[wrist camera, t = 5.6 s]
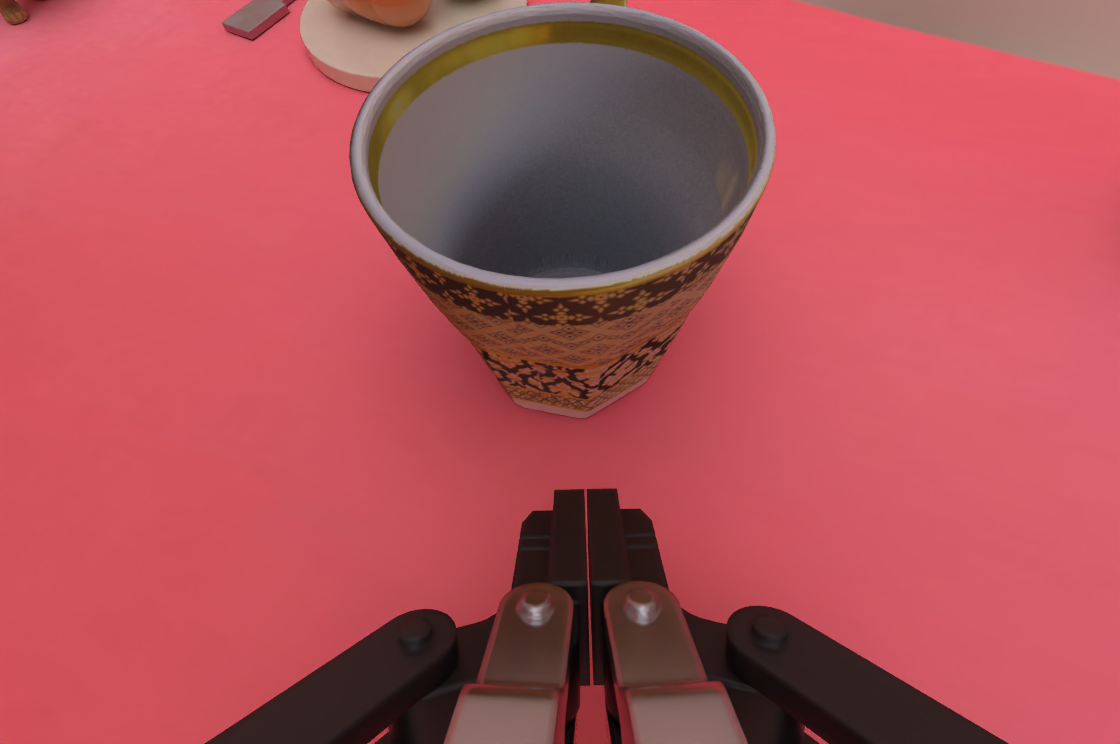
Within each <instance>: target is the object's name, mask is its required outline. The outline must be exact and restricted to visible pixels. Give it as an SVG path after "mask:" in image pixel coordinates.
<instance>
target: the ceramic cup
mask: <svg viewBox="0 0 1120 744" xmlns="http://www.w3.org/2000/svg"><path fill="white" fill-rule="evenodd" d="M775 148H776V132H775V126H774V120H773V115H772V111H771V109H770V106H769V104H768V102H767V99H766V97H765V94H764V93H763V91H762V89H761V87H760V85H759V84H758V82H757V81H756V80H755V78H754V77H753V75H752V74H751V73H750V71H749V70H748V69H747V68H746V67H745V66H744V65H743V64H742V63H741V62H740V61H739V60H738V59H737V58H736V57H735V56H734V55H732V54H731V53H730V52H729V51H728V50H726V49H725V48H724V47H723V46H721V45H720V44H718V43H717V42H715V41H714V40H712V39H711V38H709V37H707V36H706V35H704V34H702V33H701V32H699V31H697V30H695V29H693V28H691V27H688V26H686V25H684V24H682V23H680V22H678V21H675V20H673V19H670V18H667V17H664V16H660V15H657V14H654V13H651V12H648V11H643V10H639V9H635V8H630V7H627V0H591V2H590V3H585V2H561V3H545V4H537V5H528V6H520V7H516V8H511V9H507V10H502V11H498V12H493V13H490V14H487V15H484V16H480V17H477V18H474V19H471V20H468V21H466V22H463V23H461V24H459V25H456V26H454V27H451V28H449V29H447V30H445V31H443V32H441V33H440V34H438V35H436V36H434V37H432V38H430V39H428V40H426V41H425V42H423V43H422V44H420V45H419V46H417V47H416V48H415V49H413V50H412V51H410V52H409V53H407V54H406V55H405V56H403V57H402V58H401V59H400V60H399V61H398V62H397V63H395V64H394V65H393V66H392V67H391V68H390V69H389V70H388V71H387V72H386V73H385V74H384V75H383V76H382V78H381V79H380V80H379V81H378V82H377V83H376V84H375V86H374V87H373V89H372V90H371V92H370V93H369V95H368V96H367V98H366V99H365V101H364V103H363V105H362V107H361V109H360V111H359V113H358V116H357V119H356V121H355V124H354V127H353V130H352V135H351V141H350V156H349V158H350V166H351V174H352V181H353V184H354V187H355V190H356V192H357V195H358V198H359V200H360V202H361V204H362V205H363V207H364V209H365V211H366V212H367V214H368V216H369V218H370V219H371V220H372V222H373V223H374V225H375V226H376V228H377V229H378V230H379V232H380V233H381V235H382V236H383V237H384V239H385V240H386V242H387V243H388V245H389V246H390V247H391V249H392V250H393V252H394V253H395V255H396V256H397V257H398V259H399V260H400V262H401V263H402V264H403V265H404V267H405V268H406V269H407V271H408V272H409V273H410V274H411V276H412V277H413V278H414V279H415V281H416V282H417V283H418V284H419V286H420V287H421V288H422V290H423V291H424V292H425V293H426V295H427V296H428V297H429V298H430V300H431V301H432V302H433V303H434V304H435V306H436V307H437V308H438V309H439V310H440V311H441V312H442V313H443V314H444V315H445V316H446V317H447V318H448V320H449V321H450V322H451V323H452V324H453V325H454V326H455V327H456V328H457V329H458V330H459V331H460V332H461V333H462V334H463V335H464V336H465V337H466V338H467V339H468V340H469V341H470V342H471V343H472V345H473V346H474V347H475V349H476V350H477V351H478V353H479V354H480V355H481V357H482V358H483V359H484V361H485V362H486V364H487V365H488V366H489V368H490V369H491V370H492V372H493V373H494V375H495V376H496V378H497V379H498V381H499V382H500V384H501V385H502V387H503V388H504V390H505V391H506V392H507V394H508V395H509V396H510V397H511V399H512V400H513V401H514V402H515V403H516V404H517V405H520V406H521V407H523V408H528V409H533V410H538V411H544V412H549V413H554V414H559V415H564V416H570V417H575V418H580V419H581V418H586V417H589V416H591V415H593V414H594V413H596V412H598V411H599V410H601V409H603V408H604V407H606V406H608V405H609V404H611V403H613V402H614V401H616V400H618V399H619V398H621V397H623V396H624V395H626V394H628V393H629V392H631V391H633V390H634V389H636V388H638V387H639V386H641V385H643V384H644V383H645V382H646V381H647V380H648V378H649V377H650V375H651V374H652V372H653V371H654V370H655V368H656V366H657V364H658V363H659V361H660V359H661V357H662V356H663V355H664V353H665V352H666V350H667V349H668V347H669V346H670V344H671V342H672V341H673V339H674V338H675V336H676V335H677V333H678V332H679V330H680V328H681V326H682V325H683V323H684V321H685V319H686V317H687V315H688V314H689V312H690V311H691V310H692V308H693V307H694V306H695V305H696V304H697V302H698V301H699V300H700V299H701V297H702V296H703V295H704V293H705V292H706V291H707V289H708V288H709V286H710V285H711V283H712V282H713V280H714V279H715V277H716V275H717V274H718V272H719V271H720V269H721V267H722V266H723V264H724V263H725V261H726V259H727V258H728V256H729V255H730V253H731V251H732V250H733V248H734V246H735V245H736V243H737V241H738V240H739V238H740V236H741V235H742V233H743V231H744V229H745V227H746V225H747V223H748V221H749V219H750V217H751V215H752V213H753V211H754V209H755V208H756V206H757V204H758V202H759V200H760V198H761V196H762V194H763V192H764V190H765V188H766V185H767V183H768V180H769V178H770V174H771V171H772V168H773V164H774V159H775Z"/></svg>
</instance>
